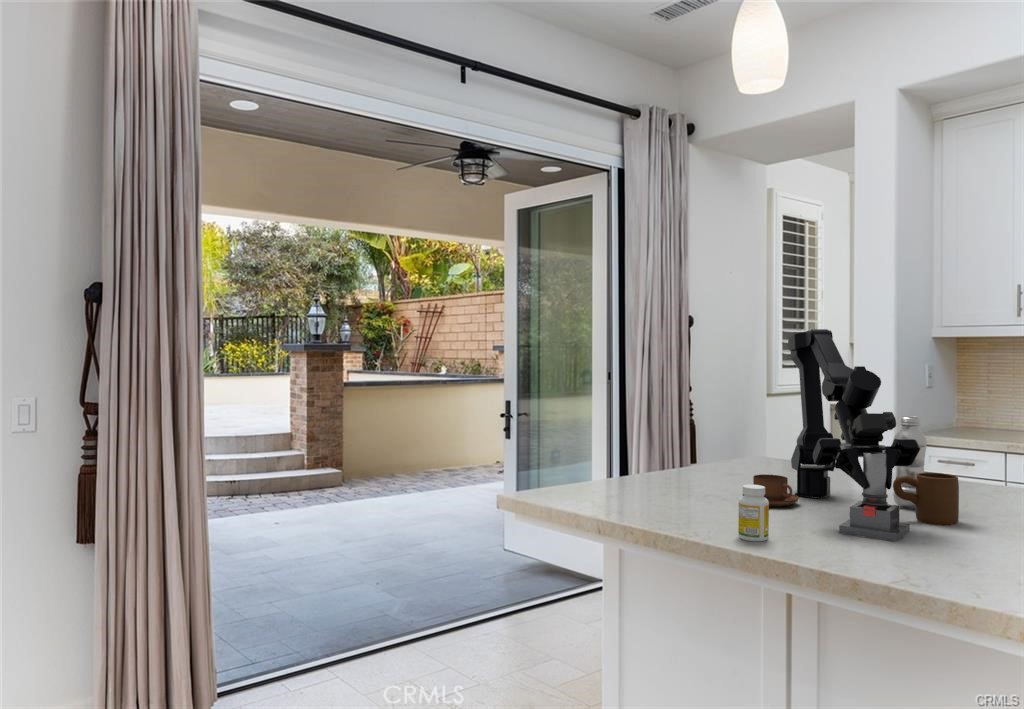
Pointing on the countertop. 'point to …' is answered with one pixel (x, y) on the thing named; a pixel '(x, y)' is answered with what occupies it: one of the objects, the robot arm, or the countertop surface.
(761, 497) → the supplement bottle
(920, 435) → the plastic bottle
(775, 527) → the countertop surface
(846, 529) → the stand sleeve
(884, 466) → the grey ridged cylinder
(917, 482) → the mug
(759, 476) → the cup and saucer
